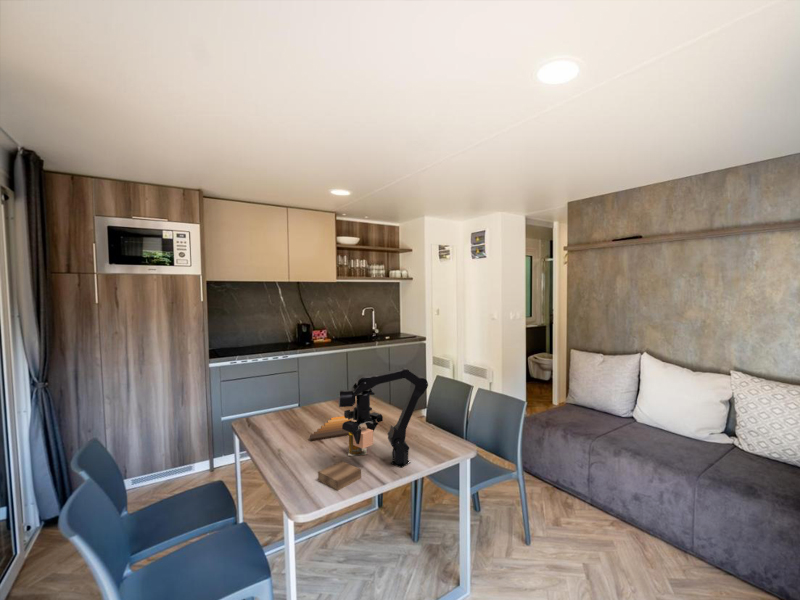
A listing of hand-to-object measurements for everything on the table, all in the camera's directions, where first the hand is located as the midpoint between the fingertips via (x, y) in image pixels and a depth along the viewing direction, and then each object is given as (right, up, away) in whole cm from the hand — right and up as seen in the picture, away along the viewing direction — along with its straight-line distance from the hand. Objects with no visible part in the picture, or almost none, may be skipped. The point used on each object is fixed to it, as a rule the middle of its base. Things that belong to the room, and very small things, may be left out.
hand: (363, 441), depth 157 cm
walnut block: (-8, -12, -9) cm, 17 cm away
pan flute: (-22, -12, +45) cm, 52 cm away
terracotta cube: (0, -1, 0) cm, 1 cm away
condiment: (-4, -11, +16) cm, 20 cm away
